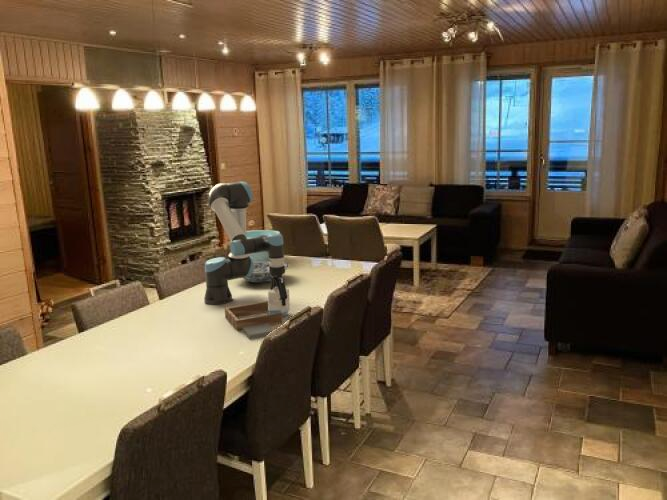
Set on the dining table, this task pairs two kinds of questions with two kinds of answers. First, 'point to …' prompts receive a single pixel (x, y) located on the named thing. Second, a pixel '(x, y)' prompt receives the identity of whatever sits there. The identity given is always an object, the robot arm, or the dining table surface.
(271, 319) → the brown wooden shallow tray
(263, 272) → the ceramic bowl
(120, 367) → the dining table surface
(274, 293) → the ink box
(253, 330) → the plinth
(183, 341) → the dining table surface
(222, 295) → the robot arm
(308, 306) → the dining table surface
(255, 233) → the bowl
